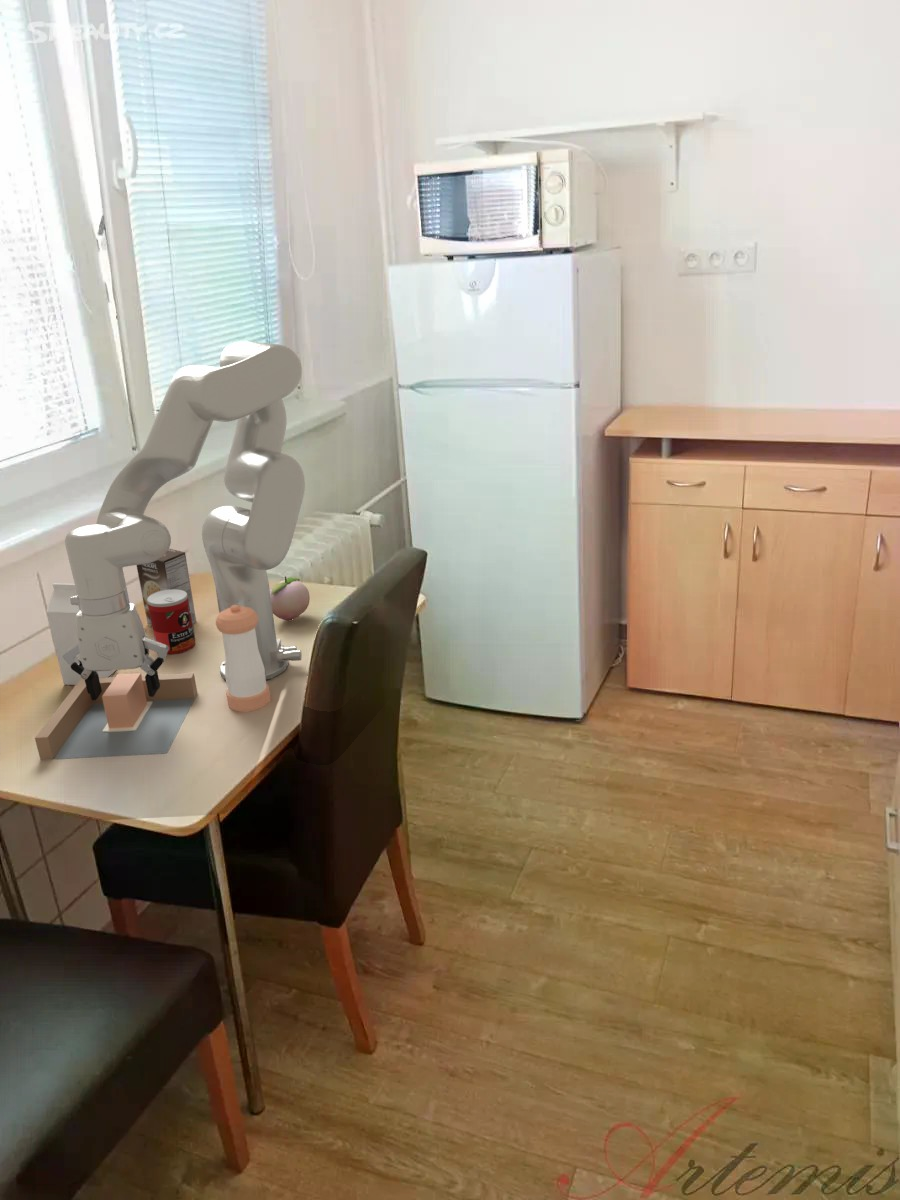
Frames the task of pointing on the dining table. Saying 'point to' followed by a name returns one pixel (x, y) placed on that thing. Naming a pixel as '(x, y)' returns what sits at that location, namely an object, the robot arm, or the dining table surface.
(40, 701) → the dining table surface
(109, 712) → the terracotta block
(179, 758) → the dining table surface
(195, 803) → the dining table surface
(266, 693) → the pepper shaker
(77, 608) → the milk carton
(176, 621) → the canned food
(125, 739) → the arena board
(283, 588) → the decorative fruit
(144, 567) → the coffee box
